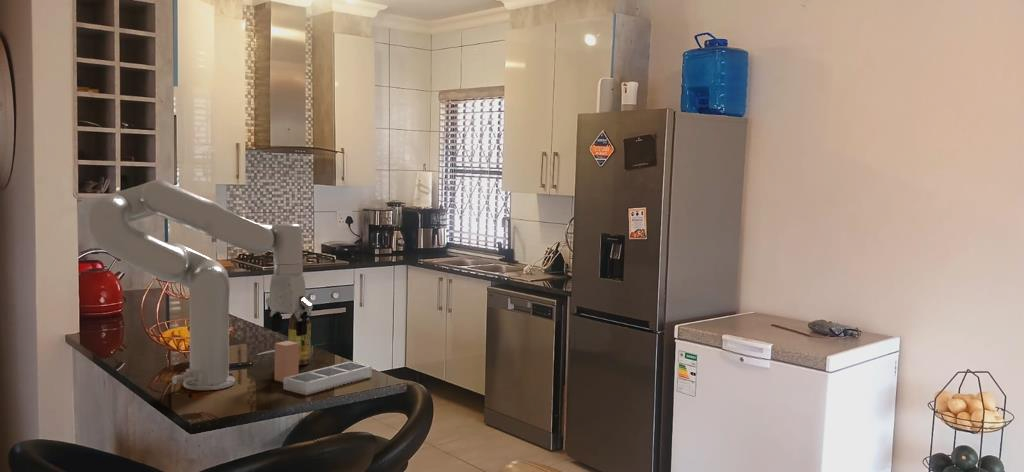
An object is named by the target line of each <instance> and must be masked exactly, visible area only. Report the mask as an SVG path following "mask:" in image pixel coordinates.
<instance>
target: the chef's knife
mask: <svg viewBox="0 0 1024 472" xmlns="http://www.w3.org/2000/svg"><path fill="white" fill-rule="evenodd" d="M273 353H275V349H271V350H267V351H263V352H260V353H257V354H256V355H257V356H258V355H264V354H273Z"/></svg>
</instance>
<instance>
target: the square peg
mask: <svg viewBox="0 0 1024 472" xmlns="http://www.w3.org/2000/svg"><path fill="white" fill-rule="evenodd" d="M274 350H275V352H274V381H276V382H280V383H283V378H285V377H289V376H293V375H297V374H300V373H299V368H300V367H299V366H300V365H299V343H296V342H291V341H288V340H285V341H280V342H275V343H274Z"/></svg>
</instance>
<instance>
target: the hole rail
mask: <svg viewBox="0 0 1024 472" xmlns="http://www.w3.org/2000/svg"><path fill="white" fill-rule="evenodd" d="M372 367H373V366H372V365H367V364H362V363H358V362H354V361H350V360H349V361H346V362H341V363H338V364H334V365H330V366H325V367H321V368H318V369H313V370H309V371H305V372H301V373H299V374H297V375H293V376H289V377H285V378H283V382H282V383H283V390H286V391H289V392H293V393H296V394H301V395H305V396H308V395H311V394H316V393H318V392H323V391H326V389H327V390H330V389H333V387H334V388H337V387H340V385H341V386H344V385H343V384H345V385H347V383H348V384H350V383H351V382H352V383H355V382H358V381H362V380H366V379H369V378H372V377H373V376H372V375H373V374H372V373H373V372H372V371H373V368H372ZM352 383H351V384H352Z"/></svg>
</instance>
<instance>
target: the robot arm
mask: <svg viewBox="0 0 1024 472" xmlns="http://www.w3.org/2000/svg"><path fill="white" fill-rule="evenodd" d="M155 215H157V216H159V217H161V218H163V219H165V220H168V221H171V222H173V223H176V224H180V225H182V226H184V227H186V228H188V229H191V230H194V231H196V232H198V233H201V234H203V235H205V236H209V237H211V238H215V239H217V240H219V241H222V242H223V243H226V244H228V245H231V246H233V247H236V248H238V249H241V250H243V251H246V252H249V253H251V254H254V255H263V254H266V253H267V252H269V251H270V250H272V253H273V254H272V255H273V256H272V257H273V259H272V260H273V261H272V262H273V263H272V264H273V266H272V267H273V268H272V269H273V274H271V278H270V284H269V297H267V298H266V299H265V303H266V305H267V310H268V312H269V316H270V317H271V332H279V331H282V330H283V328H284V327H283V326H284V325H283V324H284V323H283V315H281V314H286V315H287V314H288V315H292V314H293V313H294V314H295V316H296V318H297V320H298V321H296V335H297V336H302V335H306V334H307V320H308V319H310V316H311V315H312V311H313V307H314V306H313V304H312V303H311V302H310V301H308V299H307V300H306V296H307V291H306V290H307V289H306V283H305V281H306V280H305V278H304V277H305V276H304V271H303V270H304V269H303V268H304V267H303V263H304V262H303V228H302V226H301V225H300V224H298V223H295V222H294V223H290V222H289V223H288V222H287V223H286V222H285V223H283V222H282V223H278V224H274V223H272V224H271V223H262V222H255V221H253V220H250V219H247V218H245V217H243V216H240V215H238V214H236V213H234V212H231V211H230V210H228V209H225V208H224V207H223V206H222V205H220V204H218V203H216V202H214V201H213V200H211V199H208V198H205V197H203V196H200V195H197V194H195V193H193V192H191V191H189V190H186V189H183V188H181V187H178V186H176V185H174V184H172V183H170V182H169V181H166V180H164V179H154V180H151V181H148V182H145V183H142V184H139V185H137V186H132V187H130V188H126V189H122V190H120V191H116V192H112V193H108V194H105V195H103V196H100V197H97V198H96V199H95V200H94V201H93V202H92V204H91V206H90V207H89V211H88V226H89V227H88V228H89V232H90V234H91V236H92V238H93V240H94V241H95V243H96V244H97V245H98V246H99V247H100V248H101V249H102V250H103V251H105V252H106V253H107V254H109V255H110V256H112V257H114V258H116V259H118V260H120V261H123V262H125V263H126V264H128V265H130V266H132V267H134V268H136V269H138V270H141V271H143V272H144V273H147V274H149V275H151V276H153V277H155V278H157V279H158V280H160V281H164V282H174V283H177V284H179V285H182V286H184V287H186V288H188V289H189V290H188V294H189V299H188V301H189V302H188V303H189V368H186V369H185V372H184V373H183V374H178V375H174V376H172V379H171V381H172V383H173V384H175V385H176V384H179V383H182V382H183V387H184V389H187V390H193V391H215V390H222V389H226V388H230V387H232V386H233V385H235V383H236V378H235V377H234V376H232V375H230V289H231V288H230V287H231V286H230V285H231V284H230V278H229V274H228V271H227V269H226V268H225V266H224V265H222V264H221V263H220V262H219V261H217V260H214V259H213V258H210V257H208V256H207V255H203V254H202V253H199V252H197V251H195V250H193V249H192V248H189V247H187V246H185V245H183V244H180V243H178V242H175V241H174V242H172V241H166V242H164V241H162V240H160V239H158V238H156V237H154V236H151V235H149V234H148V233H146V232H144V231H141V230H140V229H137V228H135V227H133V226H132V225H131V223H133V222H136V221H140V220H142V219H145V218H149V217H152V216H155ZM300 313H301V314H302V315H300Z"/></svg>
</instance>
